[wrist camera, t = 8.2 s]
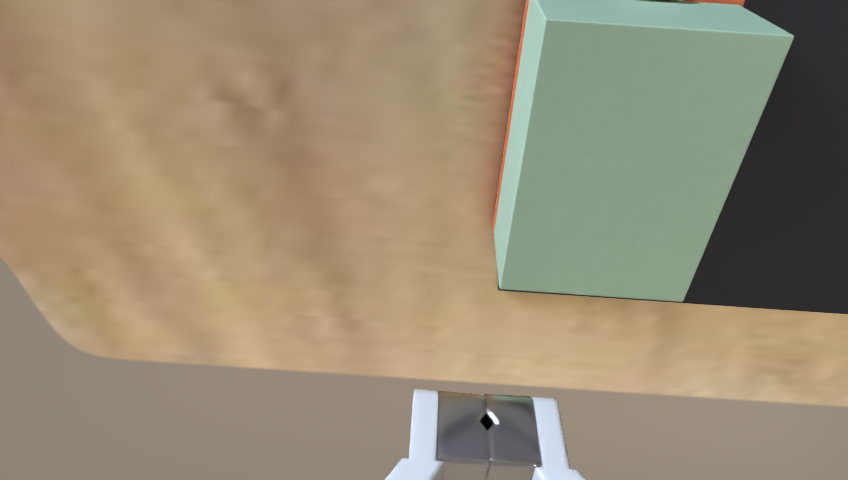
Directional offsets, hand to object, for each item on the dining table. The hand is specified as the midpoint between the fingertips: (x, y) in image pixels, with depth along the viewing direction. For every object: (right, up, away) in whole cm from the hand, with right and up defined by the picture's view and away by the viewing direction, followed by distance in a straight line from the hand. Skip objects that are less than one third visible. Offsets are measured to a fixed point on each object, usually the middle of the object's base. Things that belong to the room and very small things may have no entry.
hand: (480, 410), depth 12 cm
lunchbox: (+3, +8, +13) cm, 15 cm away
